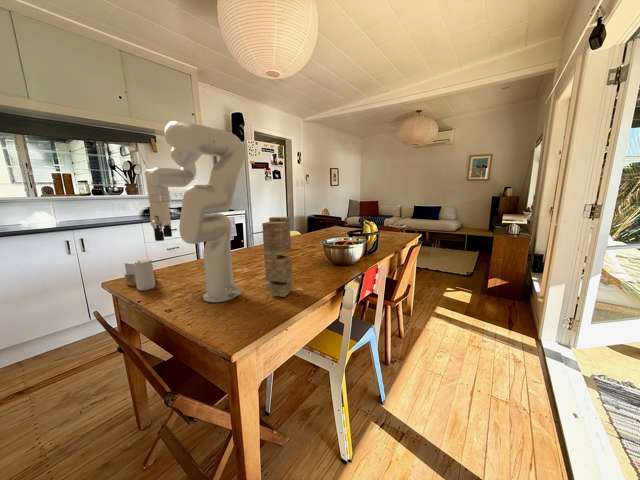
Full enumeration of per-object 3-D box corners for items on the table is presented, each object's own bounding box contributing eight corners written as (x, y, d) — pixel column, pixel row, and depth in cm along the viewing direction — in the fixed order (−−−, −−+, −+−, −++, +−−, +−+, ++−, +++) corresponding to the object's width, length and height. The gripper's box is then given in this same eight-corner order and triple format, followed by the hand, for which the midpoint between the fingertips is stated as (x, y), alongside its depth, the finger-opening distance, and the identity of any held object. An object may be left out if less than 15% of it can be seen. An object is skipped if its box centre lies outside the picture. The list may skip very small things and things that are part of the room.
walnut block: (156, 280, 116) (155, 270, 115) (139, 287, 108) (138, 275, 107) (143, 279, 118) (142, 269, 117) (126, 285, 111) (124, 274, 110)
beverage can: (134, 289, 105) (129, 261, 102) (150, 284, 110) (146, 258, 108) (142, 292, 102) (138, 263, 99) (159, 287, 107) (155, 259, 105)
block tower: (265, 296, 95) (260, 218, 90) (275, 287, 103) (271, 216, 98) (284, 298, 93) (281, 219, 88) (293, 289, 101) (290, 216, 96)
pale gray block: (153, 270, 115) (151, 260, 114) (138, 275, 108) (136, 264, 107) (141, 269, 117) (140, 259, 116) (126, 274, 110) (124, 263, 109)
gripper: (157, 198, 115) (162, 235, 119) (139, 200, 99) (145, 242, 102) (175, 198, 117) (179, 235, 120) (161, 199, 100) (166, 241, 104)
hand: (164, 238), depth 111 cm, fingers open, 9 cm apart
